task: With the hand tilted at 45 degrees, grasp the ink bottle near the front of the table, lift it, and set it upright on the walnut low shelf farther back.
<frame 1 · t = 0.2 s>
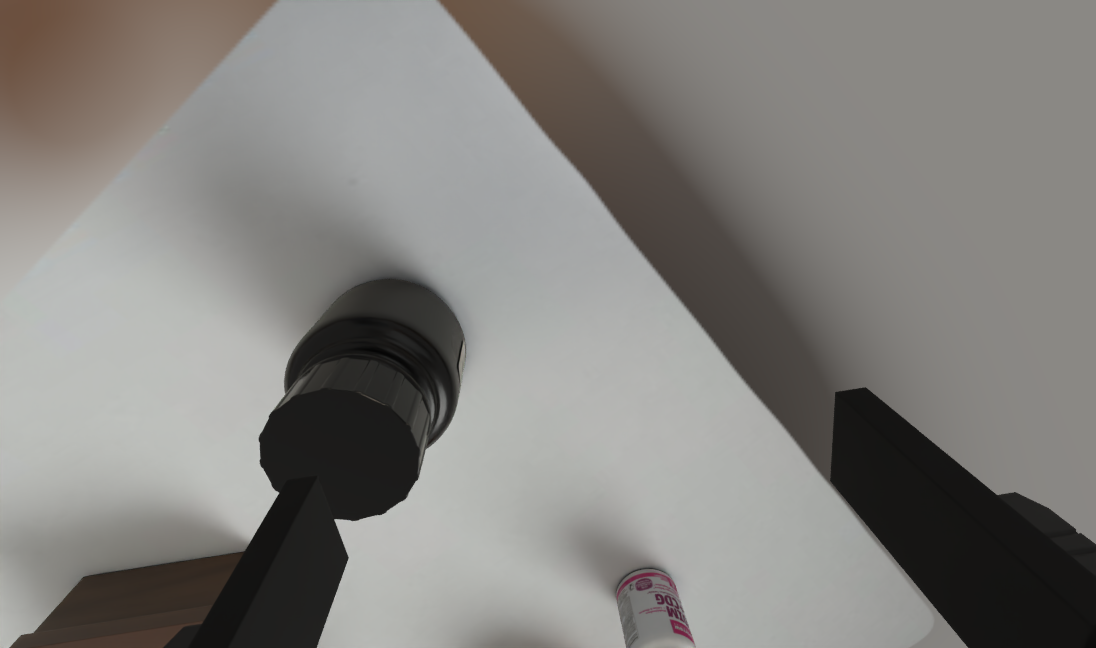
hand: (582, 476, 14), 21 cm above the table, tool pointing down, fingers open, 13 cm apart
pill bottle: (644, 587, 44), on the table
shelf: (211, 637, 43), on the table
ink bottle: (396, 342, 35), on the table
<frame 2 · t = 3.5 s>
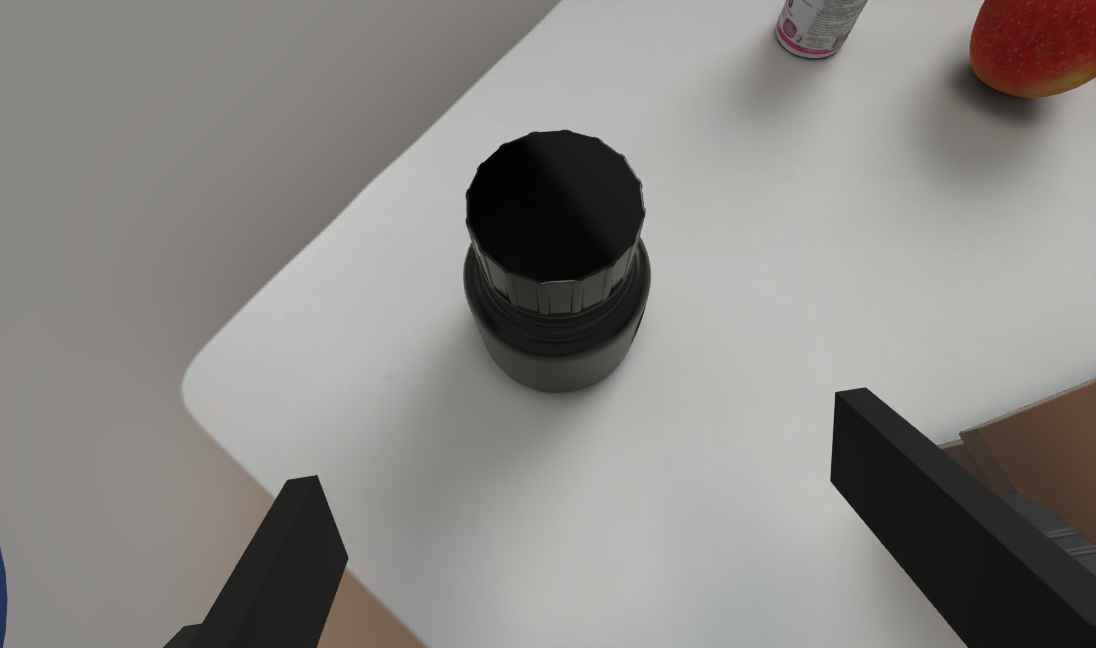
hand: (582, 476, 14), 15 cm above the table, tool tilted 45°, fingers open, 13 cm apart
pill bottle: (807, 37, 39), on the table
apple: (998, 79, 38), on the table
ink bottle: (558, 320, 32), on the table
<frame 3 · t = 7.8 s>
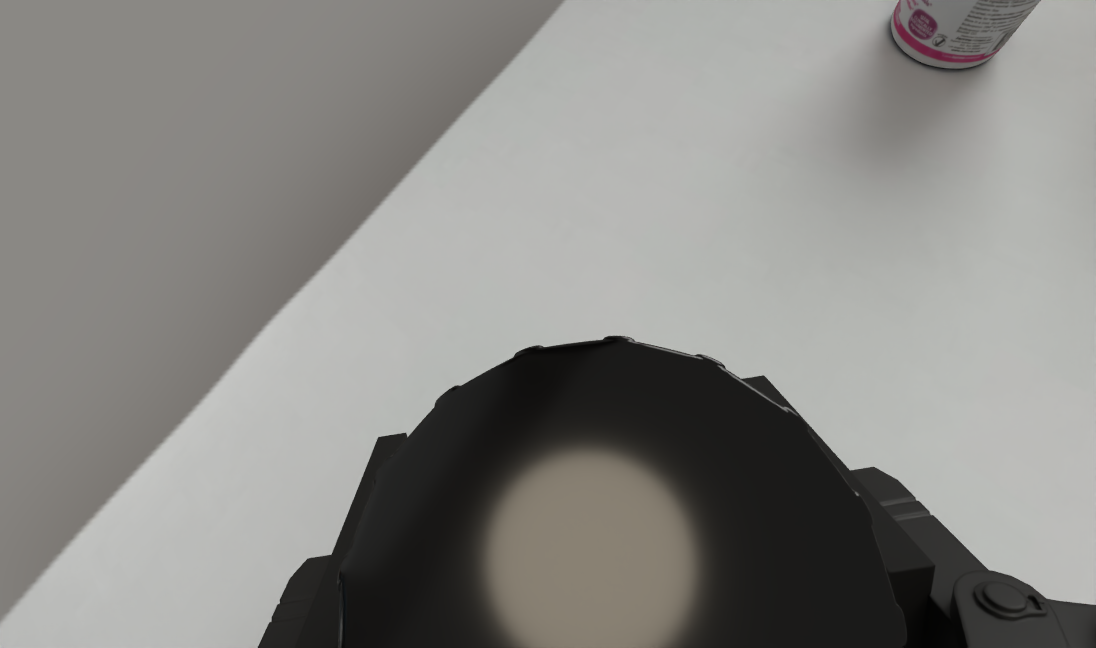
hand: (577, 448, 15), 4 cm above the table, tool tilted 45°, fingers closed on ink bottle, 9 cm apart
pill bottle: (939, 37, 25), on the table
ink bottle: (595, 569, 18), on the table, touching gripper
when the fingers open (10 cm above the table, at t = 17.6 s): ink bottle stays where it is, resting on shelf.
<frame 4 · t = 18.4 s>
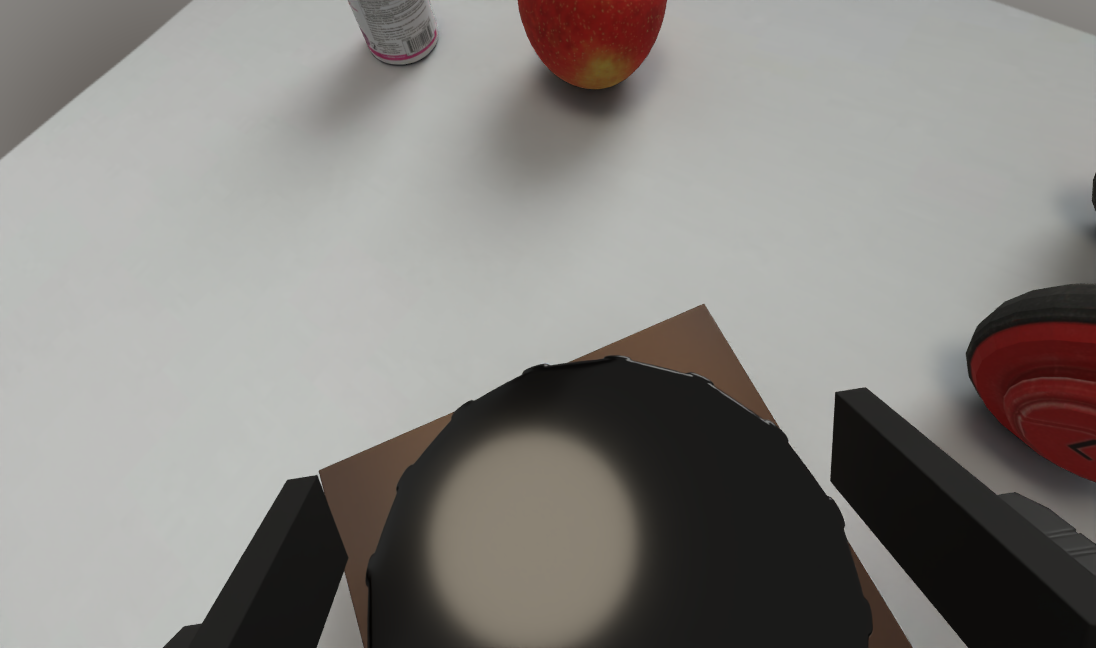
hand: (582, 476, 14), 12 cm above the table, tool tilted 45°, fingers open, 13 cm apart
headphones: (1083, 332, 27), on the table
pill bottle: (405, 43, 37), on the table
shelf: (594, 564, 24), on the table
apple: (591, 71, 35), on the table
ink bottle: (595, 568, 19), point 6 cm above the table, touching shelf
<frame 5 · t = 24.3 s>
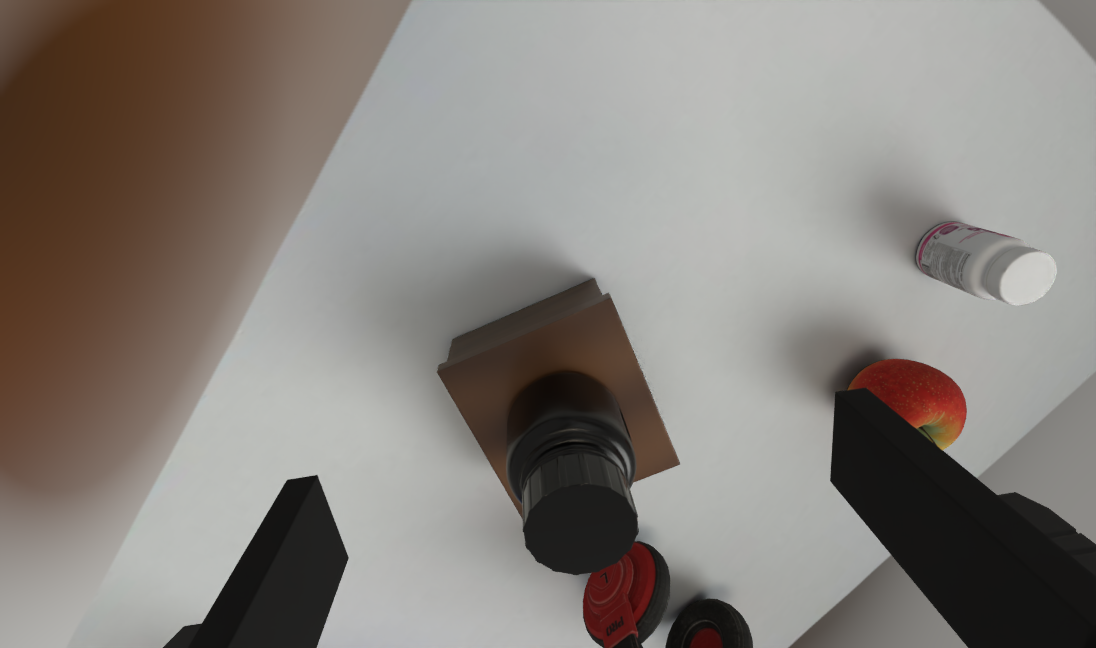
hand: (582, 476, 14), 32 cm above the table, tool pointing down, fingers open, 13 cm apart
headphones: (654, 580, 59), on the table
pill bottle: (940, 248, 46), on the table
shelf: (558, 384, 49), on the table
apple: (869, 380, 51), on the table
ink bottle: (564, 419, 44), point 6 cm above the table, touching shelf
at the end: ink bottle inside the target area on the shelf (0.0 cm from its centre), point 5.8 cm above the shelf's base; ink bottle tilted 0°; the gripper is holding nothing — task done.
